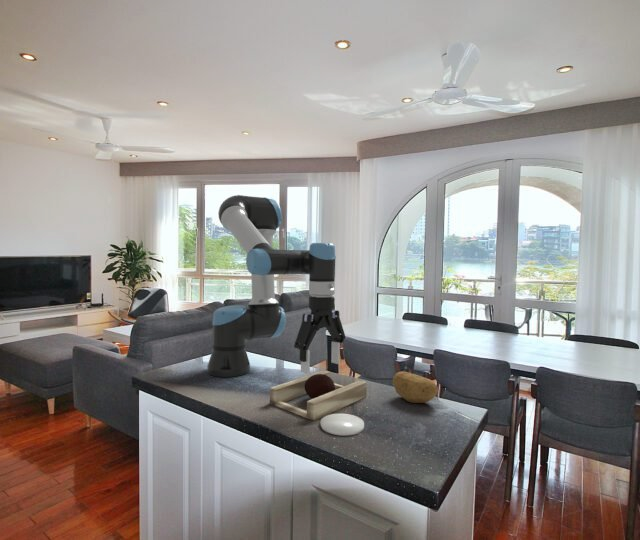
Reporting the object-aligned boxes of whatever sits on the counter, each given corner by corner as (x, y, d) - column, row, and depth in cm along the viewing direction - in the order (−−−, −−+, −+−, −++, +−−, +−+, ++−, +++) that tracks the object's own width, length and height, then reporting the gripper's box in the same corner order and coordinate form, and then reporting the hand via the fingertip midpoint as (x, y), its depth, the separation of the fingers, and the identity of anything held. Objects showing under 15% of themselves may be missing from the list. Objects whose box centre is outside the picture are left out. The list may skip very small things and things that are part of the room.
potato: (427, 413, 107) (428, 384, 107) (385, 398, 117) (386, 372, 117) (444, 404, 114) (445, 377, 114) (403, 391, 124) (404, 366, 124)
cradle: (269, 403, 112) (270, 387, 112) (324, 383, 130) (324, 370, 130) (313, 420, 101) (314, 403, 100) (366, 396, 119) (366, 382, 119)
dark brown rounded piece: (307, 393, 120) (307, 369, 120) (336, 396, 118) (337, 371, 118) (301, 403, 112) (301, 377, 112) (332, 406, 110) (333, 379, 110)
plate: (311, 425, 98) (311, 422, 98) (338, 412, 106) (338, 410, 106) (346, 440, 91) (346, 436, 90) (372, 425, 99) (372, 422, 99)
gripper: (301, 299, 102) (300, 379, 103) (357, 294, 121) (356, 361, 121) (281, 297, 107) (281, 374, 108) (338, 292, 126) (337, 357, 126)
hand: (320, 367), depth 114 cm, fingers open, 13 cm apart
